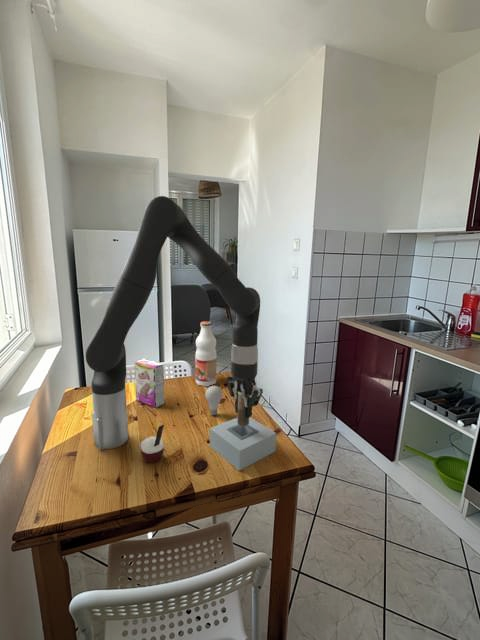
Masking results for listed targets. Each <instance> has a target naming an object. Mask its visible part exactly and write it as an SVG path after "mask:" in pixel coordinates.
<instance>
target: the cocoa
mask: <svg viewBox="0 0 480 640" xmlns="http://www.w3.org/2000/svg"><path fill="white" fill-rule="evenodd" d="M164 428H165V424H162V425H159V426H158V429H157V432H156V436H153V435H152V436H149V437H147V438H145V439H143V440H142V441H141V442H140V445H139V446H140V453H141V456H142V458H143V460H144V461H145V462H147V463H155V462H157V461H159V460H161V458H162V457H163V456H164V451H165V450H164V448H165V446H164V442H163V439H162V434H163V430H164Z"/></svg>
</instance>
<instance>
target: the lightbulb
mask: <svg viewBox="0 0 480 640" xmlns="http://www.w3.org/2000/svg"><path fill="white" fill-rule="evenodd" d="M204 395H205V399H206V401H207V402H208V407H209V410H210V411H209V413H210V415H212V416H216V415H217V414H218V409H219V404H220V402H221V400H222V398H223V391H222V389H221V388H220V387H219V386H217V385H212V386H208V388H207V389H206V391H205V394H204Z"/></svg>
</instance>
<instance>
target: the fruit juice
mask: <svg viewBox="0 0 480 640" xmlns="http://www.w3.org/2000/svg"><path fill="white" fill-rule="evenodd" d="M212 326H213V325H212V322H211V321H207V320H206V321H201V322H200V332H199V334H198V336H197V337H196V339H195V347H196V349H195V350H196V351H195V353H194V354H195V355H194V358H195V360H194V361H195V384H196V383H197V384H198V385H197V384H196V385H197V386H199V385H202V386H201V387H211V386H210V385H212V386H214V385H216V383H217V370H218V369H217V363H218V362H217V360H218V359H217V357H218V356H217V350H216V347H217V339H216V337H215V335H214V334H213V332H212ZM213 384H214V385H213Z"/></svg>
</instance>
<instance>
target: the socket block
mask: <svg viewBox="0 0 480 640" xmlns="http://www.w3.org/2000/svg"><path fill="white" fill-rule="evenodd" d="M237 420H238V416H237V417H235V418H233V419H230V420H227V421H225V422H223V423H220V424H218V425H215V426H212V427H211V428H209V447H210V449H212V450H213V451H215V452H216V453H217V454H218V455H219V456H221V457H222V459H224V460H226V462H228V463H229V464H230V465H232V466H233V467H234V468H235V469H236V470H238V471H242V470H244V469H245V468H247V467H248V466H251V465H254V464H255V463H256V462H259V461H260V460H262V459H264V458H266V457H267V456H270V455H272V453H275V452H276V445H277V432H275V431H273V430H272V429H270V428H268V427H267V426H265V425H264V424H262V423H260V422H259V421H257V420H256V419H254V418H252V417H249V424H248V425H246V426H241V425H239V424H238V423H237Z"/></svg>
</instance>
